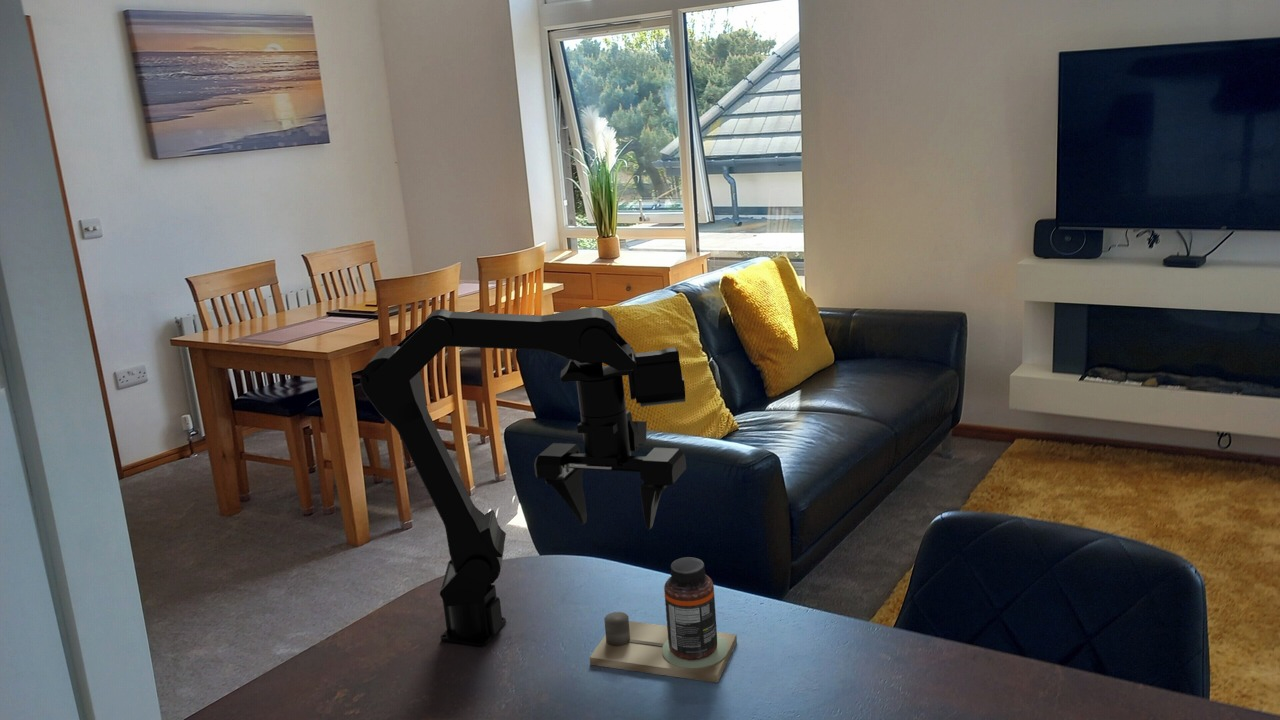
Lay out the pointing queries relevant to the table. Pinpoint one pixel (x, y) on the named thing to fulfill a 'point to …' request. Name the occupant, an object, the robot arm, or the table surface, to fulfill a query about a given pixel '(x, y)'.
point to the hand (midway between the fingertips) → (616, 525)
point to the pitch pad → (701, 663)
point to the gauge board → (648, 650)
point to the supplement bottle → (690, 610)
